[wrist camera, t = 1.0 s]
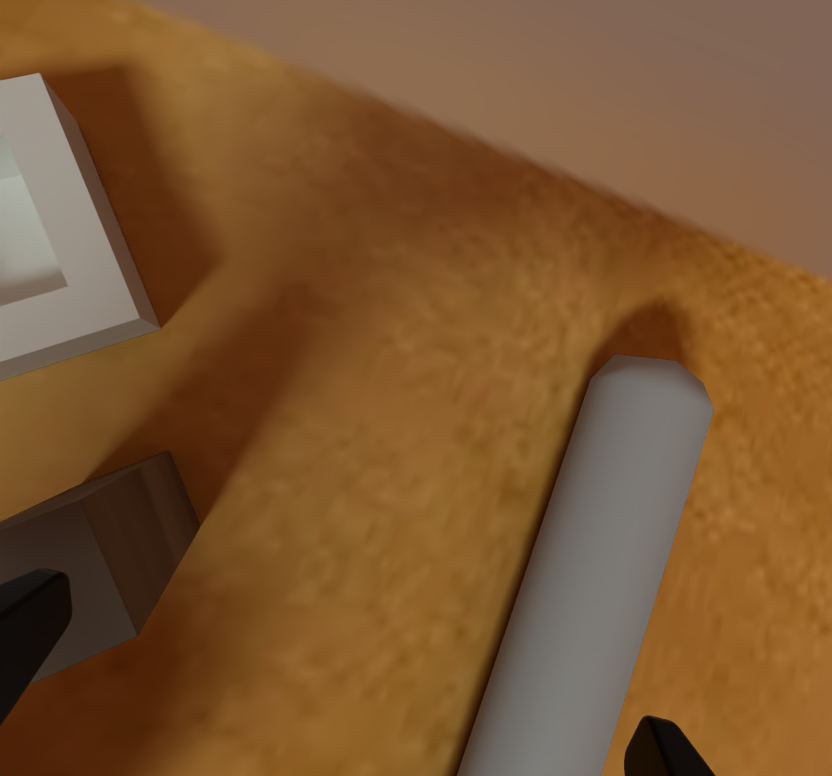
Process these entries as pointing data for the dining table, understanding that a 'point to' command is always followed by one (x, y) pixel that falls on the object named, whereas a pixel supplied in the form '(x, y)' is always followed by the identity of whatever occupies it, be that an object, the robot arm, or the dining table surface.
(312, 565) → the dining table surface
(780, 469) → the dining table surface
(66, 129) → the white square frame
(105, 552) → the dark brown wooden beam
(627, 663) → the tube
